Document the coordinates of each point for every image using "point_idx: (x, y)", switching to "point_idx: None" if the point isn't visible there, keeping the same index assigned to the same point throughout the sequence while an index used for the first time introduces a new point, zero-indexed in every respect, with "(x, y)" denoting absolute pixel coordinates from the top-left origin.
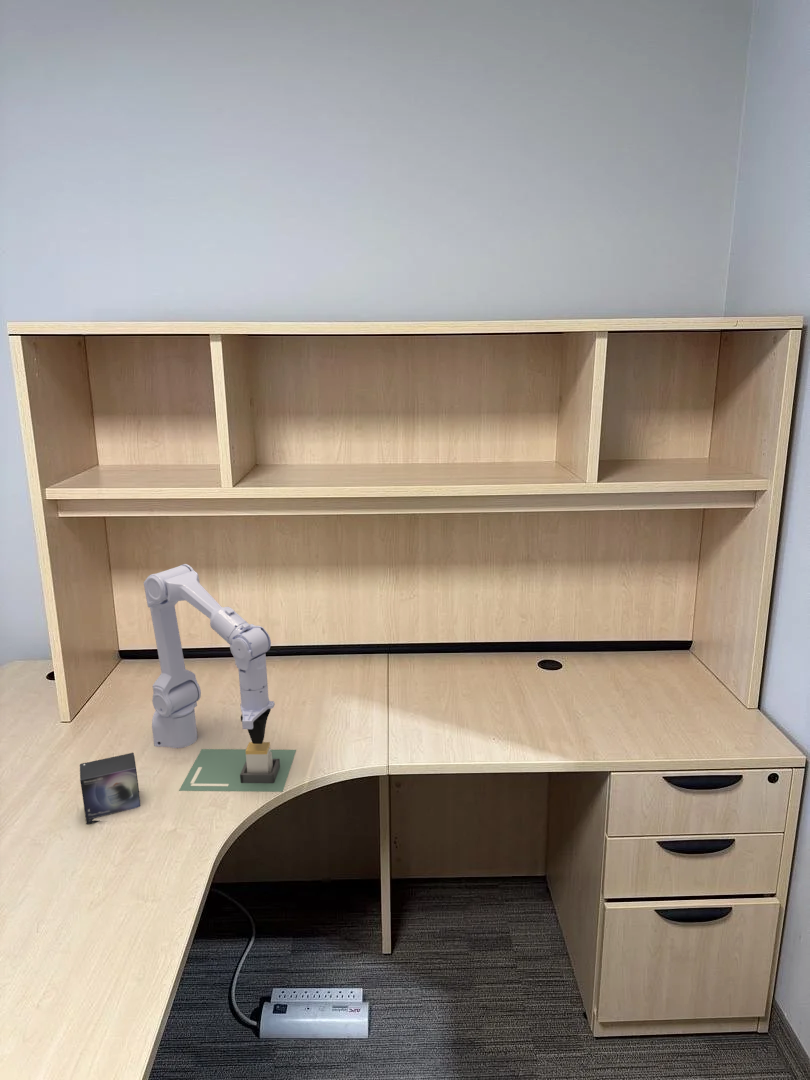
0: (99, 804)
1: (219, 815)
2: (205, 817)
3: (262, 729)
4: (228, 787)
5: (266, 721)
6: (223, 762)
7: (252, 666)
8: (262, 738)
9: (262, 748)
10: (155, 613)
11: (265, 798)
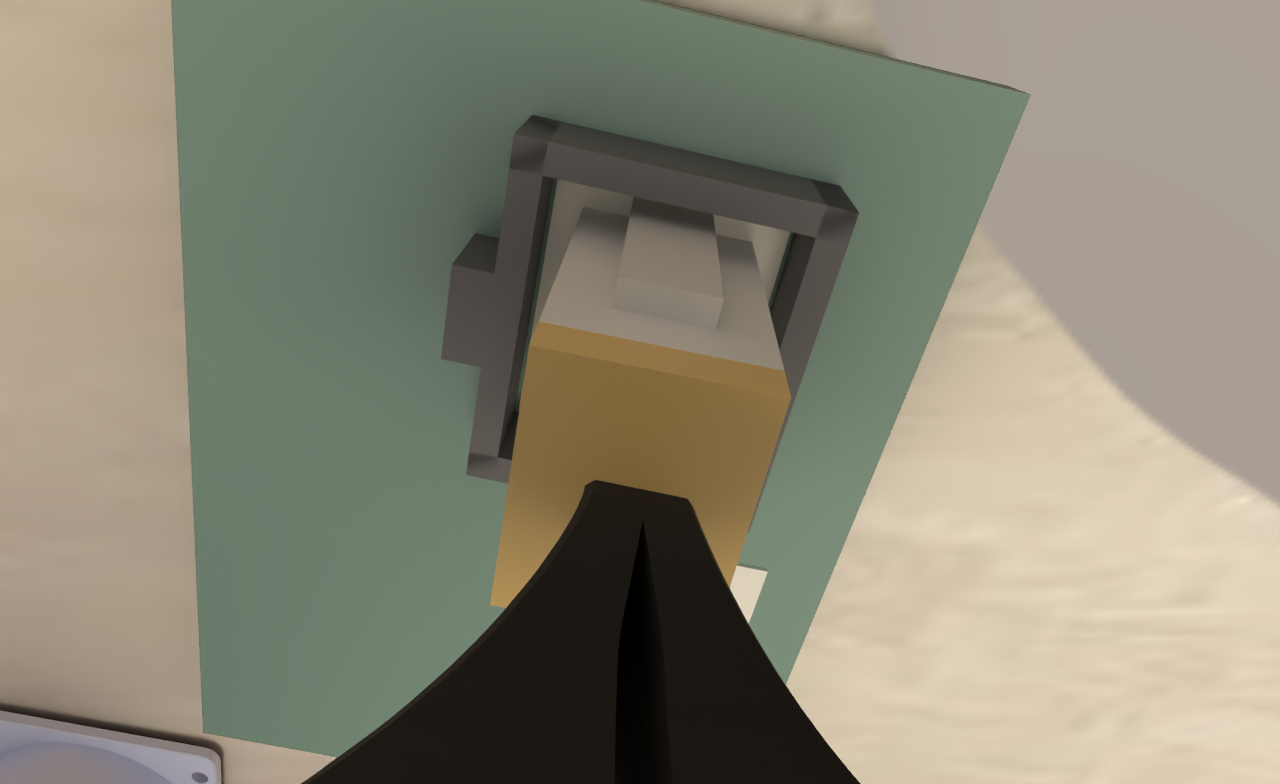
0: None
1: (1053, 587)
2: (1035, 662)
3: (818, 740)
4: (784, 566)
5: (465, 676)
6: (403, 602)
7: None
8: (713, 555)
9: (701, 452)
10: None
11: (968, 259)
